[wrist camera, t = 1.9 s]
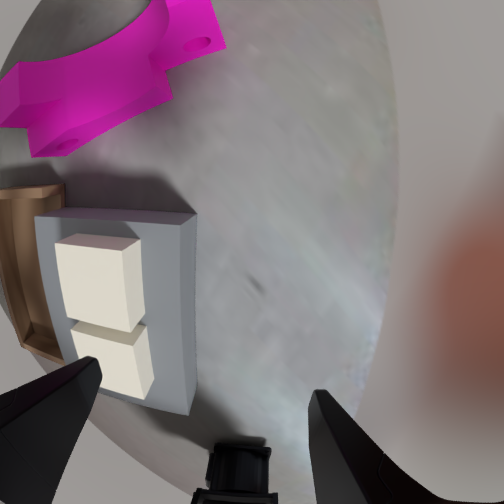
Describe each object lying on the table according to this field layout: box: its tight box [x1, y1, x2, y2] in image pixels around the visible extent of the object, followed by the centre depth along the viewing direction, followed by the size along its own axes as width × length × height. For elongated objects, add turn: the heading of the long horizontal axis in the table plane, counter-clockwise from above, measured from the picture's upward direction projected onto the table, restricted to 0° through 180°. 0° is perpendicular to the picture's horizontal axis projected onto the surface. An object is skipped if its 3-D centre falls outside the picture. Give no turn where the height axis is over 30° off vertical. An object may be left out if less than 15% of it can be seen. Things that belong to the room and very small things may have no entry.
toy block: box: [0, 0, 226, 158], centre depth 13 cm, size 15×6×8 cm, turn 107°
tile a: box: [55, 233, 145, 333], centre depth 15 cm, size 5×5×2 cm
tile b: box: [70, 321, 154, 400], centre depth 17 cm, size 5×5×2 cm
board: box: [34, 207, 197, 416], centre depth 19 cm, size 12×16×4 cm
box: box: [0, 184, 66, 366], centre depth 20 cm, size 9×17×3 cm, turn 175°
